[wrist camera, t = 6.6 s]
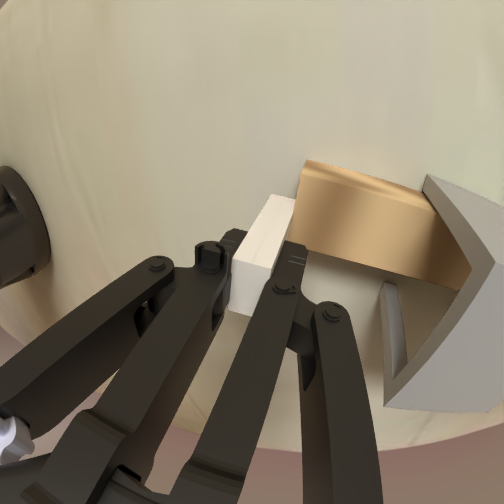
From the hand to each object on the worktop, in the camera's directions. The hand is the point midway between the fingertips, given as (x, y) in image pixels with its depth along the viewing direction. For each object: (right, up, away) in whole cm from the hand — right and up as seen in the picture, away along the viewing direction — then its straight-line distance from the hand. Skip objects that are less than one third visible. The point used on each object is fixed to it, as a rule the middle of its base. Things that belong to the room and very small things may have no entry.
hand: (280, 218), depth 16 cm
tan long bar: (+9, 0, -1) cm, 9 cm away
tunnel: (+12, -2, -1) cm, 12 cm away
